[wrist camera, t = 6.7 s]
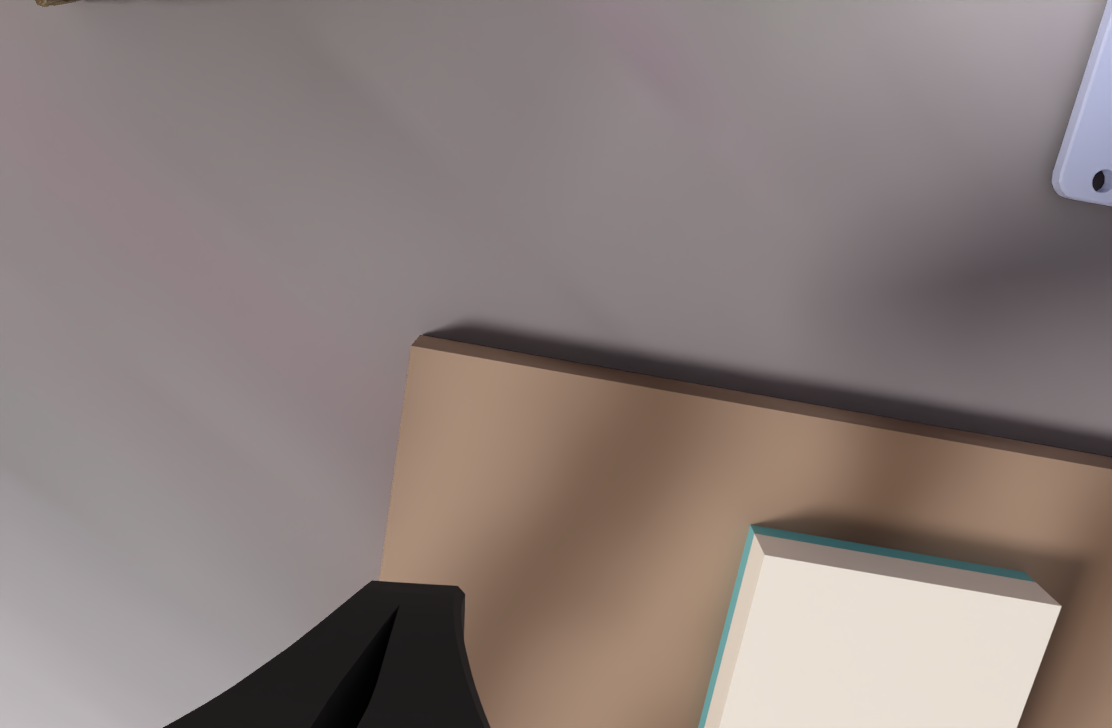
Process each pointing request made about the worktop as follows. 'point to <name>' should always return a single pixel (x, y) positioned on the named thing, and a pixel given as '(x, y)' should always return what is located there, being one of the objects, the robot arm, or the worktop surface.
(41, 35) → the worktop surface
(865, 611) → the tile
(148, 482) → the worktop surface
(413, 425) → the board
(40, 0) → the rock
